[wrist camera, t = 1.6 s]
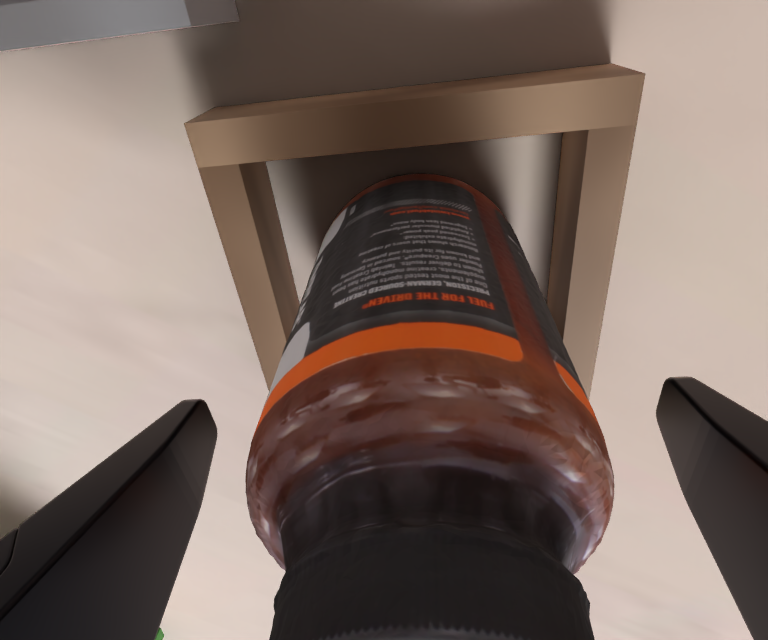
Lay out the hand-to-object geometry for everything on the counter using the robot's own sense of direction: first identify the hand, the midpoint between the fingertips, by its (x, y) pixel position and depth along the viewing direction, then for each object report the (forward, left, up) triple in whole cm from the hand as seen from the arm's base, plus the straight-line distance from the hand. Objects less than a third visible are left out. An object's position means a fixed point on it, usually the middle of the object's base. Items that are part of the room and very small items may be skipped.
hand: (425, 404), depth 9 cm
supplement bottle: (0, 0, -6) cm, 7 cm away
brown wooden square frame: (0, 0, -6) cm, 6 cm away
